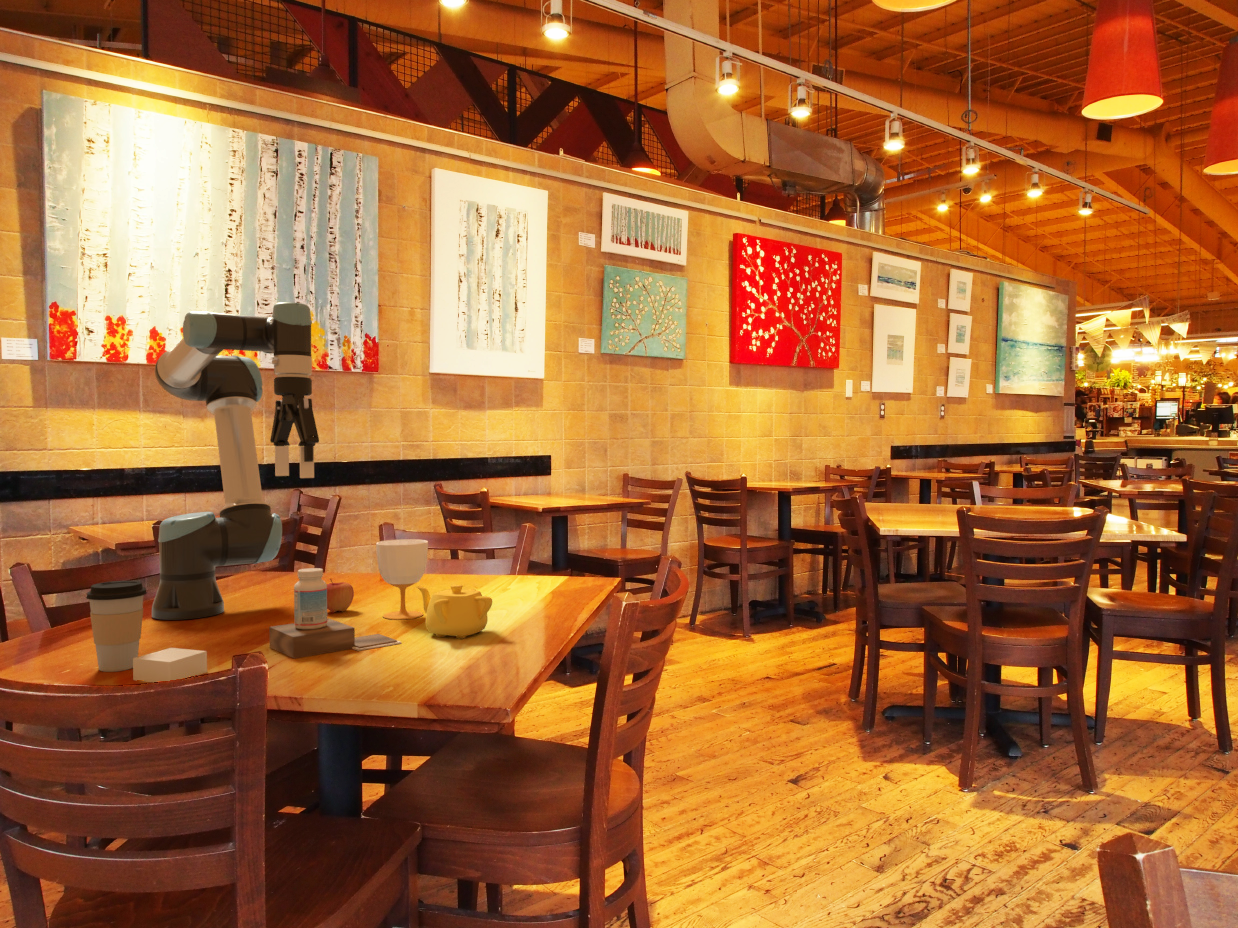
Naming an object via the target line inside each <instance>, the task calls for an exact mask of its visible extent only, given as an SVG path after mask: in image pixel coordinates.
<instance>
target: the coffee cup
mask: <svg viewBox="0 0 1238 928" xmlns="http://www.w3.org/2000/svg"><path fill="white" fill-rule="evenodd" d="M147 594H148V592H147V588H146V587H144V586H143V582H142V581H140V580H115V581H114V580H113V581H106V582H105V581H104V582H99V583H95V584H92V585H90V591H88V592H87V593H86V597H85V598H86V599H87V600H89V608H90V612H89V615H90V623H91V630H92V637H93V643H94V645H95V650H96V658H97V664H98V671H101V672H106V673H107V672H108V673H111V672H112V673H114V672H122V671H123V672H124V671H127V670H131V669H133V658H136V657H139V648H140V640H141V637H142V627H143V617H144V616H143V615H144V608H143V607H144V596H145V595H147Z"/></svg>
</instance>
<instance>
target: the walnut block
mask: <svg viewBox="0 0 1238 928" xmlns="http://www.w3.org/2000/svg"><path fill="white" fill-rule="evenodd" d="M355 638H356V637H355V627H354V626H351V625H348V624H345V623H343V622H340V621H337V620H335V619H332V618H328V617H327V625H326V626H325V627H322V628H319V629H310V630H303V629H297V628H296V627H295V622H294V623H293V622H292V623H288V624H287V623H286V624H280V625H273V626H269V648H271V649H273V650H275V651H277V652H278V653H281V654H283V655H285V656H288V657H289V658H291V659H298V658H304V657H311V656H315V655H316V656H317V655H322V654H328V653H333V652H339V651H346V650H351V649H352V647H355ZM352 650H353V649H352Z"/></svg>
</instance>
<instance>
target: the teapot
mask: <svg viewBox="0 0 1238 928" xmlns="http://www.w3.org/2000/svg"><path fill="white" fill-rule="evenodd" d="M415 587H416V588H417V589H418V590H419V592H421V595H422V602H423V611H424V613H425V614H426V615H425V627H426V629H427V631H428V633H429V634H435V636H436V637H438V638H439V637H446V636H453V637H454V636H455V637H456V639H465V638H466V637H467V636H471V635H474V634H477V633H479V632H482V631H484V630H485V628H486V627H487V625H488V624H487V623H488V612H489V611H490V610H491V608H492V604H493V599H492V597H491V596H486V595H484V596H483V594H482V592H481V591H479V590H476V589H475V588H473V589H471V588H470V589H463V585H462V584H451V585H450V588H449V589H445V590H444V589H443V590H440V591H437V592H434V593H433V594H431V595H430V592H429V590H428V589H427V588H426V587H424V586H420V585H416V586H415Z"/></svg>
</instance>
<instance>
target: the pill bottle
mask: <svg viewBox="0 0 1238 928" xmlns="http://www.w3.org/2000/svg"><path fill="white" fill-rule="evenodd" d="M323 577H324V569H323V568H319V567H309V568H308V567H307V568H299V569H298V570H297V579H299V580H298V581H297V582H296V583H294V586H293V603H294V604H293V605H294V606H293V607H294V608H293V609H294V610H293V611H294V614H293V615H294V619H293V620H294V623H295V627H296V628H297V629H303V630H310V629H319V628H322V627H325V626H326V625H327V619H328V609H327V584H328V583H327V582H326V581H325V580H323V579H322V578H323Z"/></svg>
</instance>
